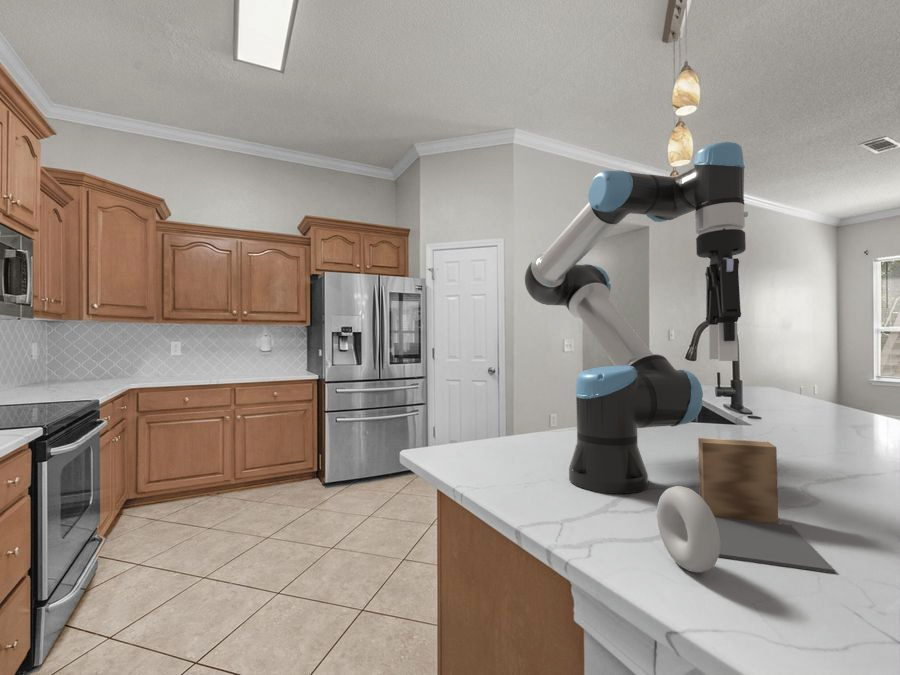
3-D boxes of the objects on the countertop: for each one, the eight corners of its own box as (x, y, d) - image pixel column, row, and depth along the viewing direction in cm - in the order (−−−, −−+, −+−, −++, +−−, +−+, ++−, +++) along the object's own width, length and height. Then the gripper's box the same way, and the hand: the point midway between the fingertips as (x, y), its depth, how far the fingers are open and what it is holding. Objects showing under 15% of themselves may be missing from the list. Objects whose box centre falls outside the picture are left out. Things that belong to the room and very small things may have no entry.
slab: (704, 517, 71) (702, 442, 71) (699, 508, 74) (698, 437, 75) (778, 525, 67) (776, 447, 67) (769, 515, 71) (768, 441, 71)
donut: (652, 550, 59) (650, 476, 60) (676, 548, 60) (674, 475, 60) (700, 591, 49) (698, 502, 50) (728, 589, 50) (726, 501, 50)
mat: (711, 555, 58) (711, 552, 58) (694, 516, 71) (694, 514, 71) (834, 573, 53) (834, 569, 53) (791, 527, 66) (791, 525, 66)
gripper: (762, 215, 68) (765, 362, 67) (730, 242, 87) (733, 358, 86) (707, 220, 71) (710, 362, 70) (687, 246, 89) (690, 358, 89)
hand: (722, 359), depth 78 cm, fingers open, 7 cm apart
